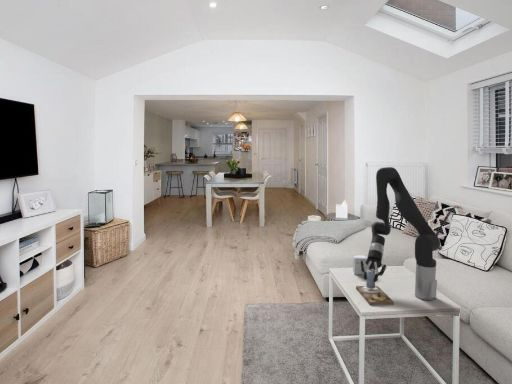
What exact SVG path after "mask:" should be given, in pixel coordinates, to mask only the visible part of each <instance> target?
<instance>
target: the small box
mask: <svg viewBox="0 0 512 384" xmlns="http://www.w3.org/2000/svg"><path fill="white" fill-rule="evenodd" d="M367 257H368V256H367V255H352V272H353V273H354V275H364V273H363V272H362V270H361V261H363V262H364V261H366V260H367ZM366 267H367V264H365V265H364V270H365V269H366Z"/></svg>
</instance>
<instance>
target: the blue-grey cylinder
mask: <svg viewBox="0 0 512 384" xmlns="http://www.w3.org/2000/svg"><path fill="white" fill-rule="evenodd" d="M375 274H376V271H375V270H373V269H369V270H367V279H366V280H365V281H366V284H365V286H366V287H367V288H370V289H373V288H375V286H376V282H374V277H375Z"/></svg>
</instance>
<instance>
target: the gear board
mask: <svg viewBox="0 0 512 384" xmlns="http://www.w3.org/2000/svg"><path fill="white" fill-rule="evenodd" d="M355 289H356V290H357V291H358V293H359V294H360V295H361V297H363V299H364V300H365V301H366V302H367V303H368V305H370V306H373V305H374V306H375V305H376V306H377V305H383V306H384V305H394V300H393V299H392V298H391V297H390V296H389V295H387V293H386V292H385V291H383V289H381V287H380V286H378V285H375V288H373V289H370V288H367V287H366V285H356V286H355Z"/></svg>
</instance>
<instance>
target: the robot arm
mask: <svg viewBox="0 0 512 384" xmlns="http://www.w3.org/2000/svg"><path fill="white" fill-rule="evenodd" d="M375 174H376V175H375V182H376V183H375V184H376V197H377V198H376V199H377V201H376V210H375V211H376V212H375V217H376V219H379V220H382V221H383V222H381V221H374V222H373V223H372V224H371V226H370V227H371V234H372V235H371V237H372V238H371V243H370V246H369V249H368V254H367V256H366V257H367V260H366V261H364V262H363V261H361V270H362V272H363V273H364V274H363V280H364V281H367V270H369V269H371V270H375V277H374V282H375V283H376V282H378V279H379V277H381V276H383V275H384V273H385V271H386V270H387V264H383V263H382V262H383V261H382V260H383V256H384V250H385V249H384V248H385V242H386V238H385V237H384V236H389V235H390V234H391V230H392V229H391V224H390V208H391V204H390V199H389V196H388V191H387V190H388V184H389V186H390V188H392V190H393V192H394V202H395V206H396V209H397V210H398V212H399V214H400V215H401V217H402V218H403V220H405V221H406V222H408V223H409V224H410V225H411V226H412V227H413V228H415V230H416V231H417V233H418V236H417V237H416V238H415V241H414V258H415V261H416V262H415V263H416V264H415V282H414V296H415V297H416V298H418V299H421V300H424V301H425V300H426V301H430V302H432V301H433V300H435V299H436V298H437V289H438V288H437V287H438V280H437V278H436V273H437V261H436V259H435V258H434V257H433V254H434V252H435V251H437V250H439V249H440V247H441V241H440V238H439V236H438V235H437V234H436V232H435V231H434V230H433V229H432V227H431V226H430V225H429V223H428V222H427V220H426V218H425V217H424V215H423V214H422V212H421V211H420V209H419V207H418V205H417V203H416V202H415V201H414V198H413V197H412V195H411V193H409V191H408V188H407V187H406V186H405V184H404V182H403V180H402V179H403V178H402V177H401V175H400V173H399V171H398V170H397V169H396V168H395V167H392V166H391V167H390V166H389V167H387V166H386V167H380V168H379V169H377V171H376V173H375ZM382 235H383V236H382ZM365 264H367V267H366V269H365V270H364V265H365ZM380 268H381V269H380ZM379 269H380V271H379Z"/></svg>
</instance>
